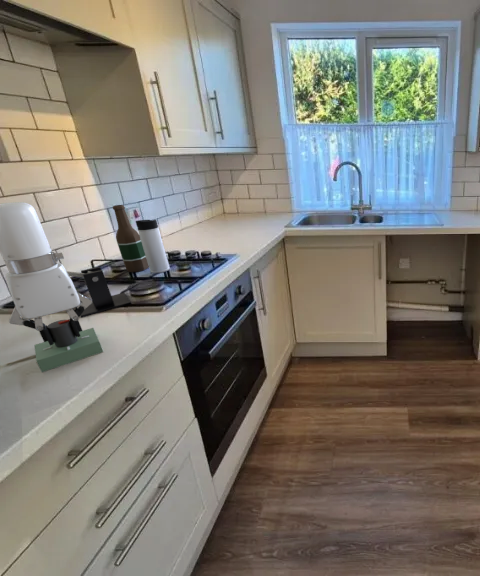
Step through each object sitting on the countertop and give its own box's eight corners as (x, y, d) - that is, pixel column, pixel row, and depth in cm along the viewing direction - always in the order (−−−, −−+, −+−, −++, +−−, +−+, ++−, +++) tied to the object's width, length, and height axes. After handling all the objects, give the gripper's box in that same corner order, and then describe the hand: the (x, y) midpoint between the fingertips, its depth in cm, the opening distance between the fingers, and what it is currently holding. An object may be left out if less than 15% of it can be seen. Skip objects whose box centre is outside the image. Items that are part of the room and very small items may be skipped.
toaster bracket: (82, 320, 99) (66, 281, 95) (77, 309, 106) (62, 271, 101) (132, 306, 107) (120, 269, 102) (125, 296, 114) (113, 261, 109)
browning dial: (56, 349, 80) (46, 328, 78) (54, 342, 83) (45, 322, 81) (78, 342, 83) (70, 322, 81) (76, 336, 86) (68, 316, 84)
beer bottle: (154, 266, 139) (135, 204, 129) (134, 273, 133) (113, 208, 123) (141, 264, 142) (122, 203, 133) (121, 271, 136) (99, 206, 126)
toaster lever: (48, 278, 94) (49, 269, 93) (46, 272, 98) (48, 264, 97) (100, 284, 102) (102, 275, 101) (97, 278, 106) (99, 270, 106)
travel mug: (146, 275, 131) (129, 221, 123) (159, 269, 137) (143, 216, 129) (162, 276, 130) (146, 221, 122) (174, 269, 136) (159, 216, 128)
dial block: (41, 372, 78) (35, 360, 77) (39, 355, 84) (34, 344, 83) (103, 351, 85) (98, 340, 83) (97, 337, 91) (93, 326, 89)
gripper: (80, 250, 83) (106, 320, 90) (-25, 269, 73) (15, 346, 80) (84, 257, 78) (111, 331, 85) (-27, 279, 68) (15, 360, 75)
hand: (64, 338), depth 83 cm, fingers closed on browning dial, 4 cm apart
